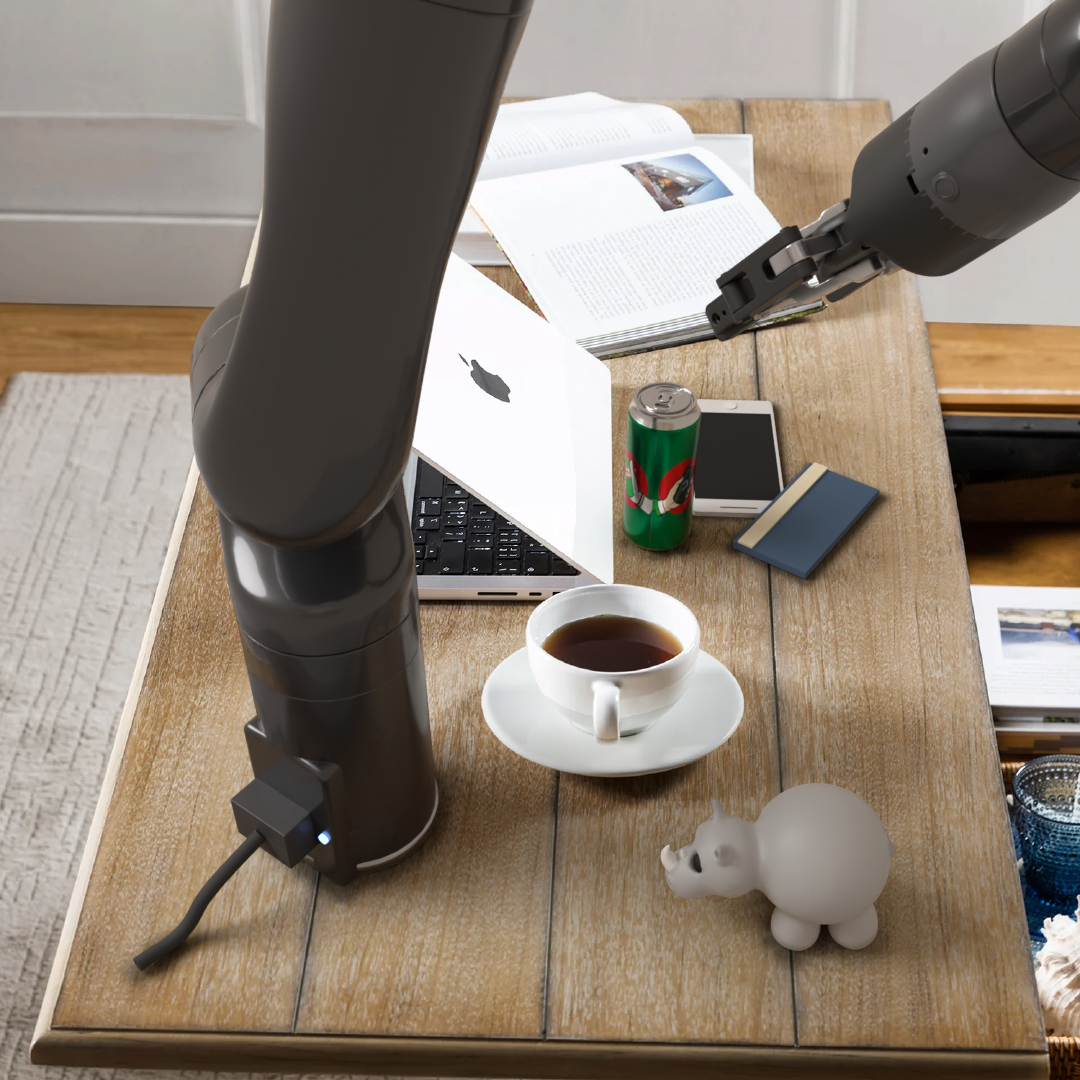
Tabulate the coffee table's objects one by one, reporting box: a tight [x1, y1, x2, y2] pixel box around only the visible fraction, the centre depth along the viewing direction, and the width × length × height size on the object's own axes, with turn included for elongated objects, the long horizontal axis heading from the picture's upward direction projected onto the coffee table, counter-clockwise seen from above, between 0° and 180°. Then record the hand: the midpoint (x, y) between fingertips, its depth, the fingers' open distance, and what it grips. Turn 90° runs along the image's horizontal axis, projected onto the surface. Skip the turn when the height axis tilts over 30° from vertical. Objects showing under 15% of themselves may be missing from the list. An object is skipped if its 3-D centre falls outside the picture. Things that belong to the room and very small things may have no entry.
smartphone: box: [692, 398, 785, 519], centre depth 102 cm, size 7×16×1 cm, turn 176°
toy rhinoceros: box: [660, 782, 896, 952], centre depth 67 cm, size 7×12×8 cm, turn 89°
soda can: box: [622, 381, 701, 552], centre depth 91 cm, size 5×5×12 cm
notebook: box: [732, 461, 880, 580], centre depth 96 cm, size 12×6×1 cm, turn 143°
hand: (772, 305), depth 72 cm, fingers open, 8 cm apart
